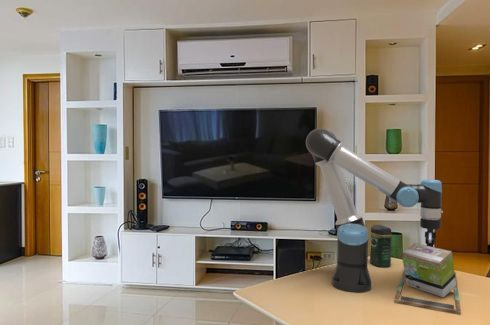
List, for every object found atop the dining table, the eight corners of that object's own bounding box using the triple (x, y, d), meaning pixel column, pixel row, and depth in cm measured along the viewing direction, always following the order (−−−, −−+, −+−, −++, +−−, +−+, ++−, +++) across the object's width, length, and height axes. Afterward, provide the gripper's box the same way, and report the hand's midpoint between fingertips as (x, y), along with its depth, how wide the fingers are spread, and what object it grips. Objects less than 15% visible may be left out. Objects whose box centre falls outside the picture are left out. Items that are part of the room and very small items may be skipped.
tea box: (406, 286, 151) (400, 252, 148) (419, 274, 157) (414, 241, 154) (444, 298, 139) (438, 262, 136) (457, 285, 144) (452, 249, 141)
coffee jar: (393, 267, 177) (394, 227, 176) (378, 268, 175) (379, 227, 174) (381, 261, 186) (382, 223, 186) (367, 262, 184) (368, 223, 184)
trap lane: (393, 302, 134) (394, 299, 134) (404, 267, 177) (405, 264, 177) (460, 314, 125) (461, 311, 125) (455, 274, 167) (455, 271, 167)
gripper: (441, 221, 146) (439, 282, 147) (440, 216, 158) (439, 273, 159) (419, 219, 150) (418, 279, 151) (421, 214, 161) (419, 270, 162)
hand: (429, 276), depth 155 cm, fingers closed
